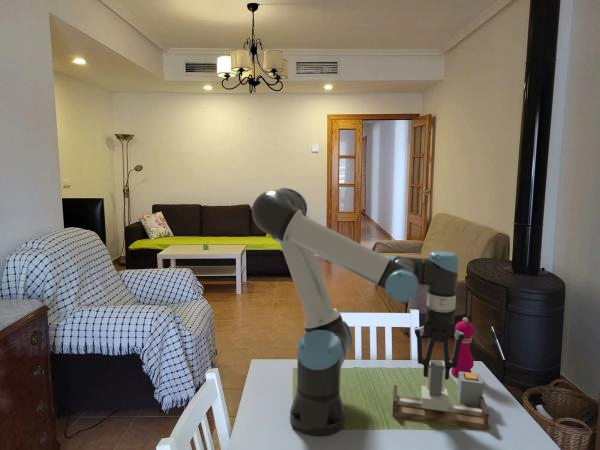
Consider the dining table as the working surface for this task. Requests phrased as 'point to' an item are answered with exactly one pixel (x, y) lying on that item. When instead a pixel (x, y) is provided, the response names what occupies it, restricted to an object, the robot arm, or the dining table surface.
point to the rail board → (442, 412)
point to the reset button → (470, 376)
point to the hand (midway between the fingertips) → (435, 388)
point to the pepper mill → (464, 348)
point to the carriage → (435, 390)
